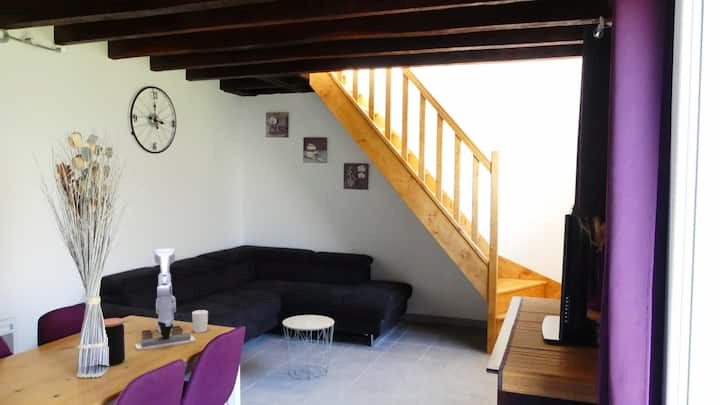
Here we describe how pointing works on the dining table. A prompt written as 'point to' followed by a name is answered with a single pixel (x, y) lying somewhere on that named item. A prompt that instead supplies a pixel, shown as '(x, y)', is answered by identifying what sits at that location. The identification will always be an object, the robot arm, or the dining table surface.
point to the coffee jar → (115, 340)
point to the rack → (149, 335)
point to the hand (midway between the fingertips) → (165, 337)
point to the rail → (165, 340)
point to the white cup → (200, 321)
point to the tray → (139, 348)
